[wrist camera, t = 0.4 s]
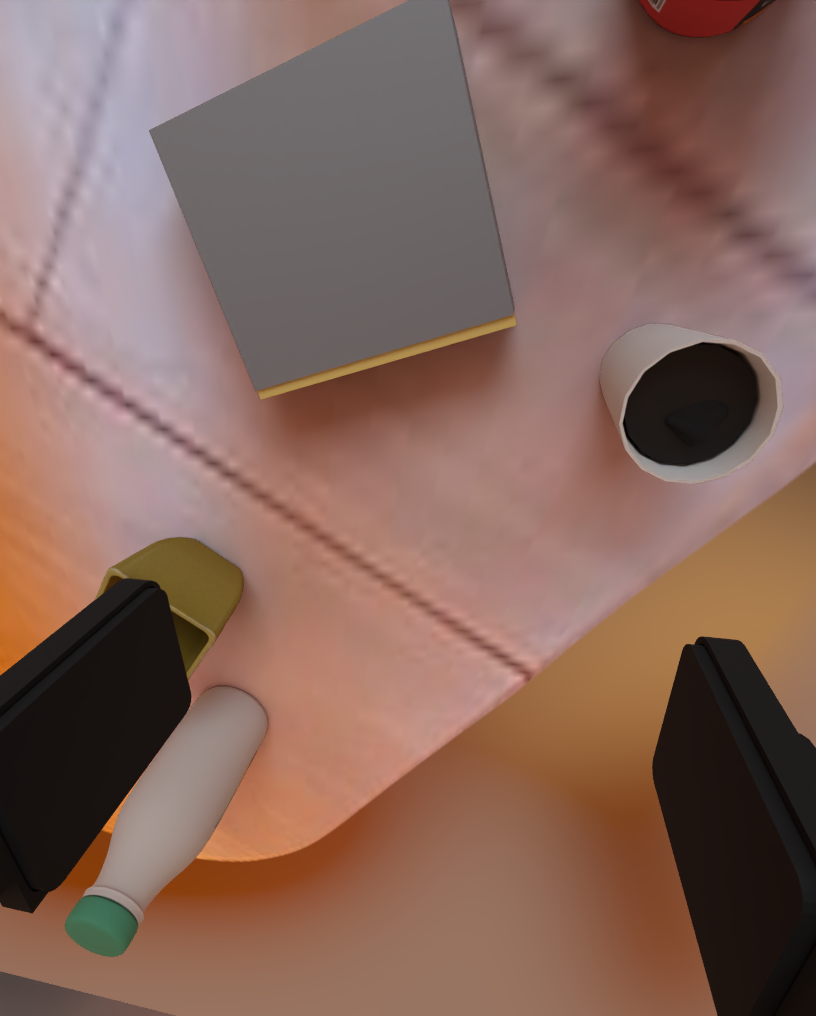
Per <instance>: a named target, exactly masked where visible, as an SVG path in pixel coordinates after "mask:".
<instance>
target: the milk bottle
mask: <svg viewBox="0 0 816 1016" xmlns="http://www.w3.org/2000/svg"><path fill="white" fill-rule="evenodd" d="M267 729H268V718H267V715H266V712H265V711H264V709H263V707H262V706H261V705H260V703H259V702H258V701H257V700H256V699H254V698H253V697H252V696H250V695H249V694H248V693H246V692H244V691H242V690H239V689H236V688H233V687H228V686H219V687H214V688H211V689H209V690H207V691H205V692H204V693H202V694H201V695H200V697H199V698H198V699H197V700H196V702H195V703H194V704H193V706H192V707H191V709H190V710H189V711H188V713H187V714H186V715H185V717H184V718H183V719H182V721H181V722H180V724H179V725H178V726H177V728H176V729H175V730H174V732H173V733H172V735H171V736H170V737H169V739H168V740H167V742H166V743H165V744H164V746H163V747H162V748H161V750H160V751H159V753H158V754H157V756H156V757H155V758H154V760H153V761H152V763H151V764H150V765H149V767H148V768H147V770H146V771H145V772H144V774H143V775H142V777H141V778H140V780H139V781H138V783H137V784H136V786H135V787H134V789H133V790H132V791H131V793H130V794H129V796H128V798H127V800H126V801H125V803H124V805H123V807H122V809H121V811H120V813H119V815H118V818H117V821H116V823H115V826H114V830H113V834H112V838H111V843H110V846H109V850H108V853H107V857H106V860H105V862H104V865H103V867H102V870H101V872H100V875H99V877H98V879H97V880H96V882H95V884H94V885H93V886H92V887H90V888H88V889H87V890H86V891H85V893H84V896H83V897H82V898H81V900H79V901H78V903H77V904H76V905H75V907H74V908H73V910H72V911H71V913H70V914H69V916H68V917H67V920H66V922H65V929H66V932H67V934H68V935H69V936H70V937H71V938H72V939H73V940H74V941H75V942H76V943H77V944H79V945H80V946H81V947H83V948H85V949H87V950H89V951H91V952H93V953H96V954H99V955H102V956H108V957H115V956H119V955H121V954H123V953H124V951H125V950H126V949H127V947H128V946H129V944H130V943H131V941H132V939H133V937H134V935H135V934H136V932H137V929H138V926H139V925H140V924H141V923H142V921H143V919H144V916H143V913H144V911H145V909H146V908H147V906H148V905H149V903H150V902H151V901H152V900H153V899H154V897H155V896H156V895H157V894H158V893H159V892H160V891H161V890H162V889H163V888H164V887H165V886H166V885H167V884H168V883H169V882H170V881H171V880H172V879H174V878H175V877H176V876H177V875H178V874H179V873H181V872H182V871H183V870H184V869H185V868H186V867H187V866H188V865H189V864H190V863H191V862H192V861H193V860H194V859H195V858H196V857H197V856H198V854H199V853H200V852H201V851H202V849H203V848H204V846H205V845H206V843H207V842H208V840H209V839H210V837H211V835H212V834H213V832H214V830H215V828H216V827H217V825H218V823H219V822H220V820H221V818H222V816H223V814H224V812H225V811H226V809H227V807H228V805H229V803H230V801H231V799H232V798H233V796H234V794H235V792H236V790H237V788H238V786H239V785H240V783H241V781H242V779H243V777H244V775H245V773H246V771H247V769H248V768H249V766H250V764H251V762H252V760H253V758H254V756H255V754H256V752H257V751H258V749H259V747H260V745H261V743H262V741H263V739H264V737H265V735H266V732H267Z"/></svg>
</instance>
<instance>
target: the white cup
mask: <svg viewBox="0 0 816 1016" xmlns="http://www.w3.org/2000/svg"><path fill="white" fill-rule="evenodd" d="M599 381H600V385H601V389H602V393H603V396H604V399H605V401H606V404H607V406H608V409H609V411H610V414H611V416H612V419H613V421H614V424H615V426H616V429H617V431H618V433H619V436H620V438H621V441H622V443H623V446H624V448H625V450H626V451H627V453H628V454H629V455H630V456H631V458H632V459H633V460H634V461H635V462H636V464H637V465H638V466H639V467H640V469H641V470H643V471H645V472H647V473H649V474H651V475H653V476H655V477H657V478H659V479H661V480H663V481H665V482H676V483H688V484H697V483H701V482H705V481H710V480H714V479H718V478H722V477H725V476H727V475H729V474H730V473H732V472H734V471H735V470H737V469H739V468H740V467H742V466H744V465H745V464H747V463H748V462H750V461H752V460H753V459H754V458H755V457H756V455H757V454H758V453H759V452H760V451H761V450H762V448H763V447H764V446H765V445H766V444H767V442H768V441H769V440H770V439H771V438H772V437H773V435H774V432H775V429H776V426H777V424H778V421H779V418H780V415H781V412H782V409H783V399H782V390H781V381H780V377H779V376H778V374H777V373H776V371H775V370H774V368H773V367H772V366H771V364H770V363H769V361H768V360H767V359H766V357H765V356H764V354H762V353H760V352H758V351H756V350H754V349H752V348H750V347H748V346H746V345H744V344H742V343H740V342H738V341H736V340H732V339H728V338H724V337H720V336H715V335H711V334H707V333H703V332H699V331H694V330H690V329H686V328H682V327H678V326H673V325H670V324H650V323H649V324H646V325H643V326H640V327H637V328H634V329H631V330H629V331H628V332H626V333H625V334H624V335H623V336H621V337H620V338H619V339H618V340H616V341H615V342H614V343H613V344H612V345H611V347H610V349H609V350H608V352H607V354H606V355H605V357H604V358H603V360H602V365H601V370H600V376H599Z"/></svg>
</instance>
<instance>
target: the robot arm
mask: <svg viewBox="0 0 816 1016" xmlns="http://www.w3.org/2000/svg"><path fill="white" fill-rule="evenodd" d="M190 703H191V691H190V687H189V682H188V678H187V674H186V670H185V666H184V662H183V658H182V654H181V650H180V645H179V641H178V637H177V633H176V629H175V625H174V621H173V617H172V613H171V608H170V604H169V600H168V596H167V594H166V592H165V591H164V590H162V589H161V588H160V585H159V584H158V583H157V582H155V581H152V580H142V579H132V578H125V579H122V580H120V581H118V582H117V583H116V584H114V585H113V586H112V587H111V588H109V589H108V590H107V591H106V592H104V593H103V594H102V595H101V596H99V597H98V598H97V599H96V600H94V601H93V602H92V603H91V604H89V605H88V606H87V607H86V608H84V609H83V610H82V611H81V612H79V613H78V614H77V615H76V616H74V617H73V618H72V619H71V620H69V621H68V622H67V623H66V624H64V625H63V626H62V627H61V628H59V629H58V630H57V631H56V632H54V633H53V634H52V635H51V636H49V637H48V638H47V639H46V640H44V641H43V642H42V643H41V644H39V645H38V646H37V647H36V648H34V649H33V650H32V651H31V652H29V653H28V654H27V655H26V656H24V657H23V658H22V659H21V660H19V661H18V662H17V663H16V664H14V665H13V666H12V667H11V668H9V669H8V670H7V671H6V672H4V673H3V674H2V675H1V676H0V903H1V905H2V906H3V907H7V908H11V909H16V910H21V911H25V912H29V913H33V912H34V911H35V909H36V908H37V907H38V905H39V904H40V902H41V901H42V900H43V899H44V897H45V896H46V894H47V893H48V892H50V891H53V890H55V889H56V888H57V887H58V886H60V885H61V884H62V882H63V881H64V880H65V879H66V877H67V876H68V874H69V873H70V872H71V871H72V869H73V868H74V867H75V865H76V864H77V862H78V861H79V860H80V858H81V857H82V856H83V854H84V853H85V851H86V850H87V849H88V847H89V846H90V845H91V843H92V842H93V841H94V839H95V838H96V836H97V835H98V834H99V832H100V831H101V830H102V828H103V827H104V825H105V824H106V823H107V821H108V820H109V819H110V817H111V816H112V815H113V813H114V812H115V810H116V809H117V808H118V806H119V805H120V804H121V802H122V801H123V799H124V798H125V797H126V795H127V794H128V793H129V791H130V790H131V789H132V787H133V786H134V784H135V783H136V782H137V780H138V779H139V778H140V776H141V775H142V773H143V772H144V771H145V769H146V768H147V767H148V765H149V764H150V763H151V761H152V760H153V758H154V757H155V756H156V754H157V753H158V752H159V750H160V749H161V747H162V746H163V745H164V743H165V742H166V741H167V739H168V738H169V737H170V735H171V734H172V732H173V731H174V730H175V728H176V727H177V726H178V724H179V723H180V721H181V720H182V719H183V717H184V716H185V715H186V713H187V711H188V709H189V707H190ZM652 769H653V780H654V784H655V788H656V791H657V795H658V799H659V803H660V806H661V810H662V813H663V817H664V821H665V824H666V828H667V832H668V836H669V839H670V843H671V846H672V850H673V854H674V858H675V861H676V865H677V869H678V872H679V876H680V880H681V883H682V887H683V890H684V894H685V898H686V901H687V905H688V908H689V912H690V916H691V919H692V924H693V927H694V930H695V934H696V938H697V942H698V945H699V949H700V953H701V956H702V960H703V964H704V967H705V971H706V975H707V978H708V982H709V985H710V989H711V993H712V996H713V1000H714V1004H715V1007H716V1011H717V1015H718V1016H816V748H815V746H814V745H813V744H812V743H811V741H810V740H809V739H808V738H806V737H805V736H803V735H802V734H798V732H797V731H796V729H795V727H794V726H793V724H792V722H791V721H790V719H789V718H788V716H787V714H786V712H785V711H784V709H783V707H782V706H781V704H780V703H779V701H778V700H777V698H776V696H775V694H774V693H773V691H772V689H771V688H770V686H769V685H768V683H767V681H766V680H765V678H764V676H763V675H762V673H761V671H760V670H759V668H758V667H757V665H756V663H755V662H754V660H753V658H752V657H751V655H750V653H749V652H748V650H747V649H746V647H745V646H744V644H743V643H742V642H741V641H738V640H731V639H721V638H712V637H699V638H698V639H697V640H696V642H695V644H694V645H691V644H686V645H685V646H684V648H683V650H682V654H681V658H680V661H679V665H678V669H677V672H676V676H675V680H674V683H673V687H672V691H671V695H670V698H669V702H668V706H667V709H666V713H665V717H664V721H663V724H662V728H661V732H660V735H659V739H658V743H657V747H656V750H655V754H654V757H653V766H652ZM0 1016H176V1015H171V1014H168V1013H164V1012H159V1011H156V1010H152V1009H148V1008H144V1007H140V1006H136V1005H132V1004H128V1003H124V1002H121V1001H117V1000H112V999H109V998H105V997H101V996H96V995H93V994H88V993H84V992H81V991H76V990H73V989H68V988H64V987H60V986H56V985H52V984H48V983H44V982H40V981H36V980H32V979H28V978H24V977H20V976H16V975H12V974H8V973H4V972H0Z"/></svg>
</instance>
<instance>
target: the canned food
mask: <svg viewBox="0 0 816 1016" xmlns="http://www.w3.org/2000/svg"><path fill="white" fill-rule="evenodd" d="M639 1H640V3H641V5H642V6H643V8H644V9H645V11H646V12H647V14H648V15H649V16H650V17H651V18H652V19H653V20H654V21H655V22H656V23H657V24H658V25H659V26H661V27H662V28H664V29H666V30H668V31H670V32H672V33H674V34H678V35H682V36H687V37H709V36H714V35H718V34H722V33H727V32H729V31H731V30H733V29H736V28H738V27H740V26H742V25H744V24H746V23H748V22H749V21H750V20H752V19H753V18H755V17H756V16H758V15H759V14H761V13H762V12H763V11H764V10H766V9H767V8H768V7H769V6H770V5H771V4H772V3H773V2H774V1H775V0H639Z"/></svg>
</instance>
